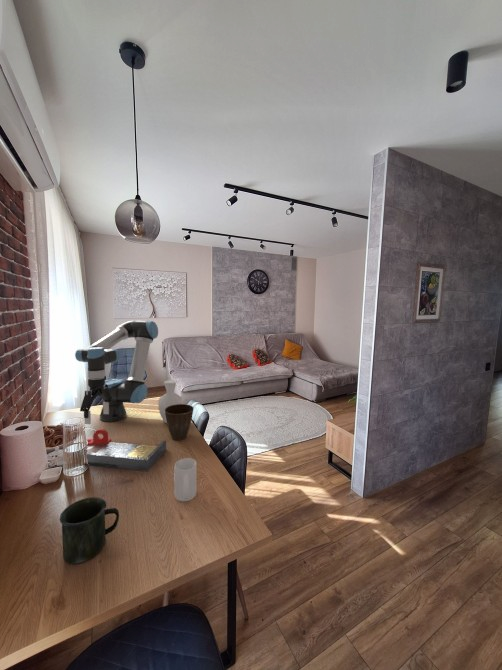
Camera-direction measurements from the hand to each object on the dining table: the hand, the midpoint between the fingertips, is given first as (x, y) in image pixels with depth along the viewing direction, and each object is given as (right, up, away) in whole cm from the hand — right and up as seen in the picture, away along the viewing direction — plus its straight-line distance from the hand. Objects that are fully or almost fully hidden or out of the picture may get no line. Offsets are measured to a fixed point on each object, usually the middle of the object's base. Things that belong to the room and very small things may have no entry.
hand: (97, 418), depth 138 cm
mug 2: (+55, -17, -39) cm, 69 cm away
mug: (+33, -19, -60) cm, 71 cm away
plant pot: (+40, -13, +8) cm, 43 cm away
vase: (+29, -11, +30) cm, 43 cm away
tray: (+21, -14, -12) cm, 28 cm away
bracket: (0, -13, 0) cm, 13 cm away
